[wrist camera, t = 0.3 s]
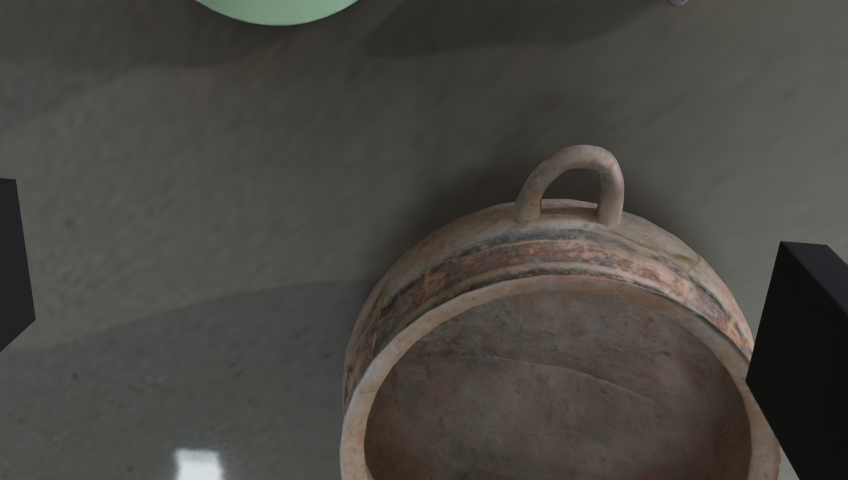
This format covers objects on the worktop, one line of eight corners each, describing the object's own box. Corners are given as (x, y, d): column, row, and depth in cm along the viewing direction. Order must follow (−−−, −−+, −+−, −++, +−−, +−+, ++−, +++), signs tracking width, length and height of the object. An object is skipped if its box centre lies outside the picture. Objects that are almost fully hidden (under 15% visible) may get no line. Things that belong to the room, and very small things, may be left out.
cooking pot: (669, 522, 48) (727, 711, 37) (356, 491, 49) (317, 668, 37) (766, 112, 38) (884, 199, 27) (371, 81, 39) (326, 153, 28)
